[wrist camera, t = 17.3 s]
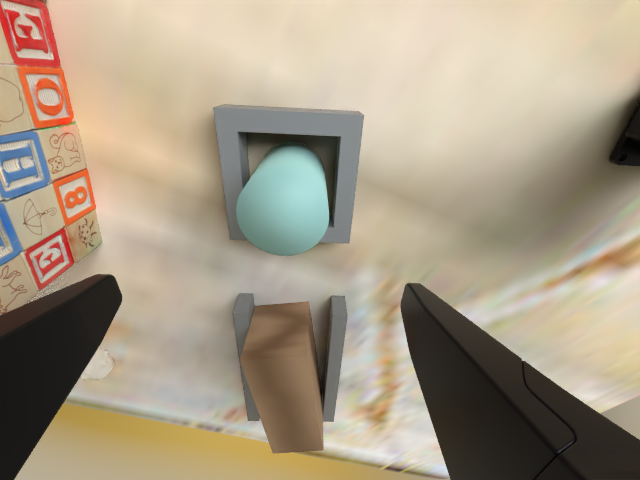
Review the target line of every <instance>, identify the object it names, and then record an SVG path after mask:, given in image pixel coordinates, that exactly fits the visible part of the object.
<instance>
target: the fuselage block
mask: <svg viewBox="0 0 640 480" xmlns="http://www.w3.org/2000/svg"><path fill="white" fill-rule="evenodd" d="M240 363H241V365H242V368H243V371H244V374H245V377H246V379H247V382H248V385H249V388H250V391H251V393H252V396H253V399H254V402H255V405H256V407H257V410H258V413H259V416H260V419H261V421H262V424H263V427H264V430H265V432H266V435H267V438H268V441H269V444H270V446H271V449H272V452H273V453H287V452H304V451H321V450H323V405H322V388H321V381H320V374H319V367H318V360H317V353H316V347H315V340H314V333H313V326H312V319H311V312H310V305H309V302H298V303H286V304H273V305H261V306H255V307H254V311H253V315H252V318H251V322H250V326H249V330H248V333H247V337H246V341H245V344H244V348H243V352H242V356H241V359H240Z"/></svg>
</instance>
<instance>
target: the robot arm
mask: <svg viewBox="0 0 640 480" xmlns="http://www.w3.org/2000/svg"><path fill="white" fill-rule="evenodd" d="M620 156H621V157H620ZM619 157H620V158H619ZM609 160H610V162H611V163H613V164H617V165H628V166H640V103H639V105H638V107H637V109H636V110H635V112H634V114H633V116H632V118H631V120H630V121H629V123H628V125H627V127H626V129H625V130H624V132H623V134H622V136H621V138H620V139H619V141H618V143H617V145H616V147H615V149H614V150H613V152H612V154H611V156H610V159H609ZM121 302H122V294H121V291H120V289H119V286H118V284H117V281H116V279H115V277H114V276H113V275H110V274H97V275H94V276H92V277H89V278H87V279H84V280H82V281H80V282H77V283H75V284H73V285H70V286H68V287H66V288H63V289H61V290H58V291H56V292H54V293H51V294H49V295H47V296H44V297H42V298H40V299H37V300H35V301H32V302H30V303H28V304H25V305H23V306H21V307H18V308H16V309H14V310H11V311H9V312H6V313H4V314H2V315H0V480H14V479H15V477H16V476H17V474H18V473H19V471H20V470H21V468H22V466H23V465H24V463H25V462H26V460H27V459H28V457H29V456H30V454H31V452H32V451H33V449H34V448H35V446H36V445H37V443H38V441H39V440H40V438H41V437H42V435H43V434H44V432H45V431H46V429H47V427H48V426H49V424H50V423H51V421H52V420H53V418H54V417H55V415H56V413H57V412H58V410H59V409H60V407H61V406H62V404H63V403H64V401H65V399H66V398H67V396H68V395H69V393H70V392H71V390H72V389H73V387H74V385H75V384H76V382H77V381H78V379H79V378H80V376H81V375H82V373H83V371H84V370H85V368H86V367H87V365H88V364H89V362H90V360H91V359H92V357H93V356H94V354H95V352H96V351H97V349H98V347H99V346H100V344H101V342H102V340H103V338H104V336H105V334H106V332H107V330H108V328H109V326H110V324H111V322H112V320H113V318H114V316H115V315H116V313H117V311H118V309H119V307H120V305H121ZM401 313H402V318H403V323H404V328H405V333H406V337H407V342H408V347H409V352H410V356H411V359H412V362H413V365H414V368H415V371H416V375H417V378H418V381H419V384H420V387H421V390H422V393H423V396H424V399H425V402H426V405H427V408H428V411H429V414H430V417H431V421H432V424H433V427H434V430H435V433H436V436H437V439H438V442H439V445H440V448H441V451H442V454H443V457H444V460H445V464H446V467H447V470H448V473H449V476H450V479H451V480H640V440H639V439H637V438H636V437H634V436H633V435H631V434H630V433H628V432H627V431H625V430H624V429H622V428H621V427H619V426H618V425H616V424H615V423H613V422H612V421H610V420H609V419H607V418H606V417H604V416H603V415H601V414H600V413H598V412H597V411H595V410H594V409H592V408H591V407H589V406H588V405H586V404H585V403H583V402H582V401H580V400H579V399H577V398H576V397H574V396H573V395H571V394H570V393H568V392H567V391H565V390H564V389H562V388H561V387H560V386H558V385H557V384H555V383H554V382H553V381H551V380H550V379H549V378H547V377H546V376H544V375H543V374H542V373H540V372H539V371H537V370H536V369H535V368H533V367H532V366H531V365H529V364H528V363H527V362H525V361H522V359H521V358H520V357H518V356H517V355H516V354H514V353H513V352H512V351H510V350H509V349H508V348H506V347H505V346H504V345H502V344H501V343H500V342H498V341H497V340H496V339H494V338H493V337H492V336H490V335H489V334H487V333H486V332H485V331H483V330H482V329H481V328H479V327H478V326H477V325H475V324H474V323H473V322H471V321H470V320H469V319H467V318H466V317H465V316H463V315H462V314H461V313H459V312H458V311H456V310H455V309H454V308H452V307H451V306H450V305H448V304H447V303H446V302H444V301H443V300H442V299H440V298H439V297H438V296H436V295H435V294H434V293H432V292H431V291H430V290H428V289H427V288H425V287H424V286H423V285H421V284H419V283H407V284H406V285H405V288H404V292H403V296H402V300H401Z"/></svg>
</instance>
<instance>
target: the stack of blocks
mask: <svg viewBox="0 0 640 480" xmlns="http://www.w3.org/2000/svg"><path fill="white" fill-rule="evenodd" d="M45 1H46V0H0V315H2V314H4V313H6V312H9V311H11V310H14V309H16V308H18V307H21V306H23V305H25V304H26V303H27V302H28V301H29V300H30V299H32V298H33V297H34V296H35V295H36V294H37V292H38V291H40V290H41V289H43V288H44V287H45V286H47V285H48V284H49V283H51V282H52V281H53V280H54V279H56V278H57V277H58V276H59V275H61V274H62V273H63V272H64V271H66V270H67V269H68V268H69V267H71V266H72V265H73V264H74V263H77V262H78V261H80V260H81V259H82V258H84V257H85V256H86V255H87V254H89V253H90V252H91V251H92V250H93V249H95V248H96V247H97V246H98V245H100V244H101V243H102V238H101V233H100V229H99V224H98V219H97V215H96V210H95V208H96V205H95V201H94V196H93V192H92V187H91V183H90V178H89V174H88V170H87V165H86V160H85V155H84V151H83V146H82V142H81V138H80V134H79V129H78V125H77V123H76V122H75V121H74V117H73V111H72V109H71V104H70V100H69V95H68V90H67V86H66V82H65V78H64V74H63V70H62V68H61V67H60V60H59V56H58V52H57V47H56V42H55V38H54V34H53V31H52V27H51V21H50V18H49V13H48V9H47V7H46V4H45Z"/></svg>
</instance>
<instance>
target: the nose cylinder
mask: <svg viewBox="0 0 640 480" xmlns="http://www.w3.org/2000/svg"><path fill="white" fill-rule="evenodd" d="M236 216H237V221H238V224H239V227H240V229H241V231H242V233H243V234H244V236H245V237H246V238H247V239H248V240H249V241H250V242H251V243H252V244H253V245H255V246H256V247H257V248H259V249H261V250H263V251H265V252H267V253H271V254H274V255H281V256H290V255H296V254H300V253H303V252H305V251H307V250H309V249H311V248H312V247H314V246H315V245H316V244H317V243H318V242H319V241H320V240H321V239H322V237H323V236H324V234H325V232H326V230H327V227H328V223H329V207H328V198H327V189H326V179H325V171H324V166H323V163H322V160H321V159H320V157H319V155H318V154H317V153H316V152H315V151H314V150H313V149H312V148H310V147H309V146H307V145H305V144H302V143H299V142H284V143H280V144H278V145H276V146H274V147H273V148H272V149H271V150H269V151H268V153H267V154H266V155H265V157H264V158H263V160H262V161H261V163H260V164H259V166H258V167H257V169H256V170H255V172H254V173H253V175H252V176H251V178H250V179H249V181H248V182H247V184H246V185H245V187H244V188H243V190H242V192H241V193H240V195H239V198H238V201H237V206H236Z"/></svg>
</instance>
